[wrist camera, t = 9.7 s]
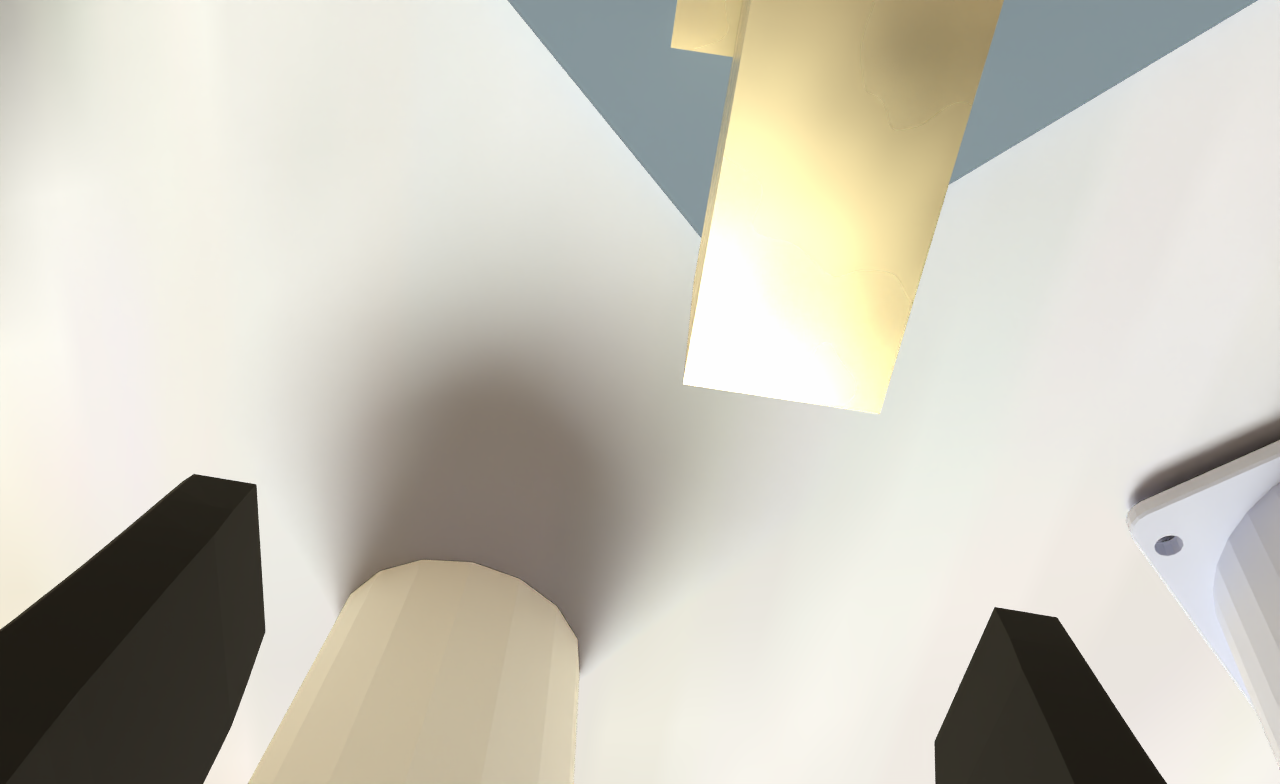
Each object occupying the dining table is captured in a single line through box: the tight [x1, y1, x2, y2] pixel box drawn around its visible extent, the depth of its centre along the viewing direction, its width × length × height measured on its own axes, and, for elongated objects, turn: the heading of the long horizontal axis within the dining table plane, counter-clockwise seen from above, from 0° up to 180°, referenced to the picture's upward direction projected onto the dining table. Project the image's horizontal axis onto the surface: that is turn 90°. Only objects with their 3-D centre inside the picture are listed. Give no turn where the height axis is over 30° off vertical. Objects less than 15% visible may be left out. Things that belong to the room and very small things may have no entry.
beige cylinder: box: [248, 560, 579, 784], centre depth 25 cm, size 7×7×7 cm
